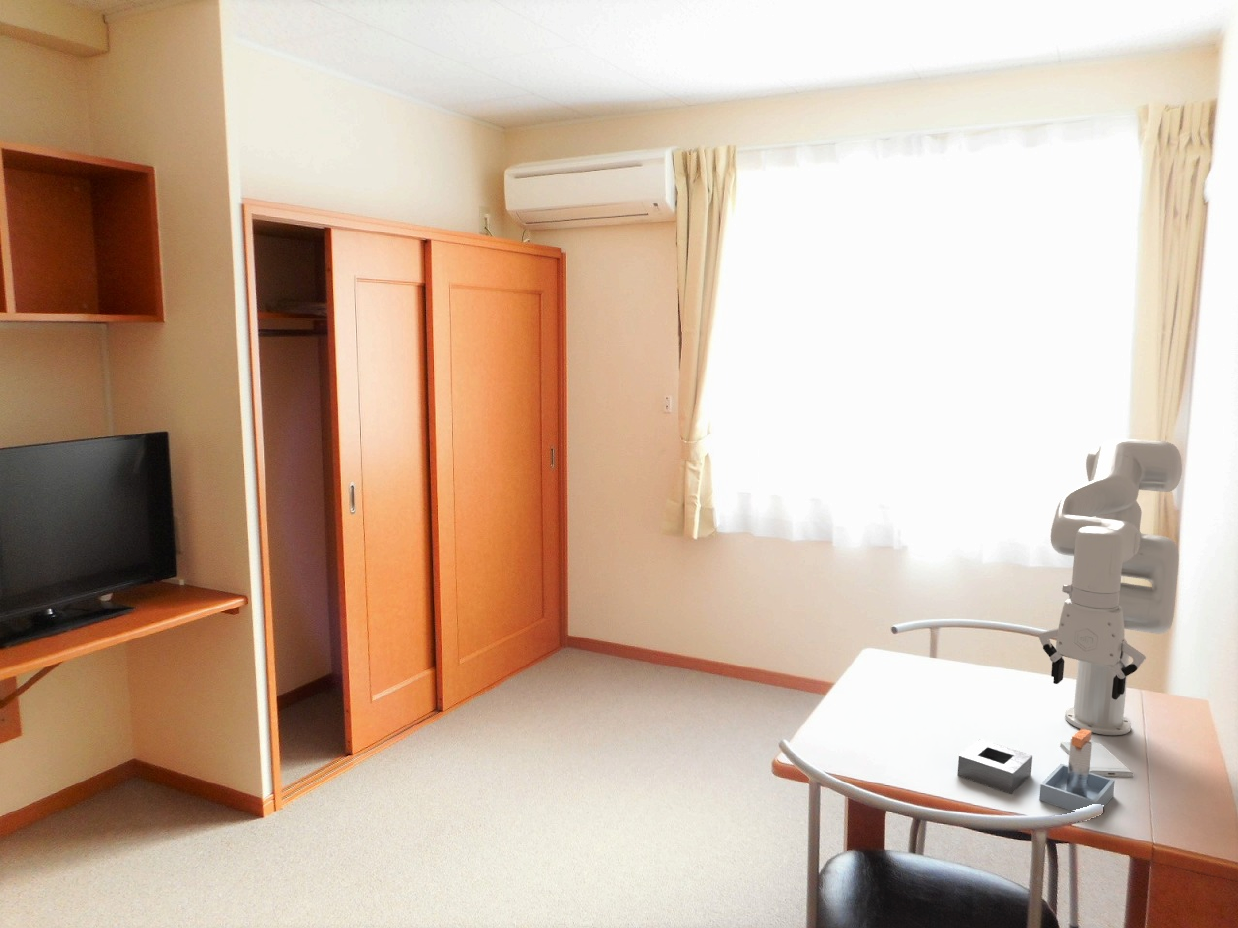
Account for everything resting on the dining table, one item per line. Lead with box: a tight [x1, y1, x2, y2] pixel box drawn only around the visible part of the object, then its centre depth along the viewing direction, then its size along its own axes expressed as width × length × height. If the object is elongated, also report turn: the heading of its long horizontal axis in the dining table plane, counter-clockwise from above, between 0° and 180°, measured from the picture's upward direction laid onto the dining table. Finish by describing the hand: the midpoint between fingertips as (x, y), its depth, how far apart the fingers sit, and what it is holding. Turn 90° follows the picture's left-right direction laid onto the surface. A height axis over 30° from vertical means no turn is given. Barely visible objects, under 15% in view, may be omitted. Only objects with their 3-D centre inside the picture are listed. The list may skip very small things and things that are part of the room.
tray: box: [1038, 763, 1115, 812], centre depth 164 cm, size 11×9×3 cm
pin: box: [1066, 728, 1093, 798], centre depth 163 cm, size 3×5×12 cm
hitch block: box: [957, 738, 1033, 795], centre depth 172 cm, size 10×10×4 cm
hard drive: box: [1059, 741, 1134, 778], centre depth 179 cm, size 2×8×12 cm
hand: (1086, 689), depth 162 cm, fingers open, 9 cm apart
